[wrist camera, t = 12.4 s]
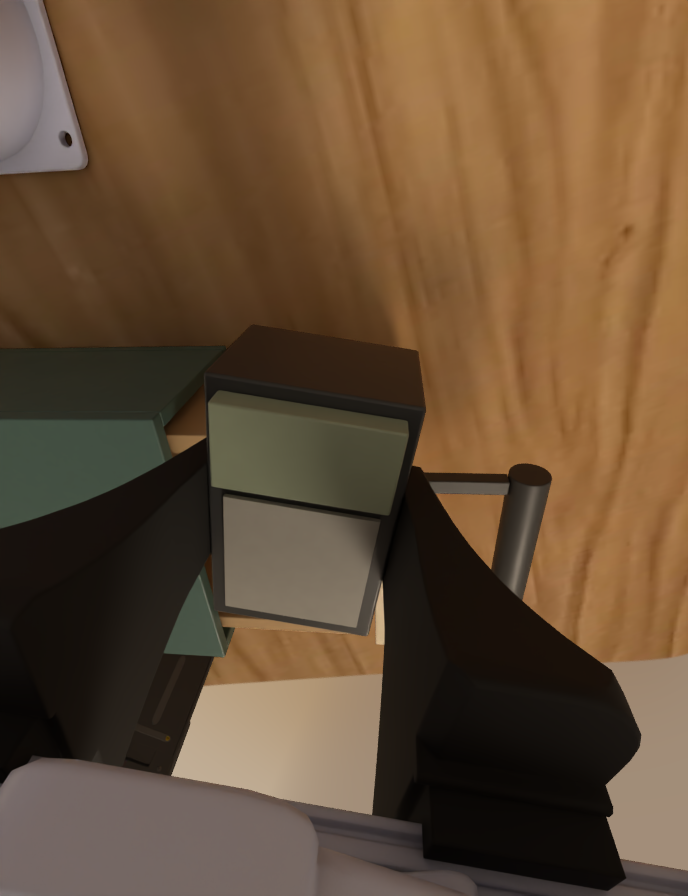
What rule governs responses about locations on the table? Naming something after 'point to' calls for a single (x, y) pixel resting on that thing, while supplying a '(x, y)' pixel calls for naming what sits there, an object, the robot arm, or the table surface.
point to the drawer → (520, 489)
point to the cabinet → (99, 441)
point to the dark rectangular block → (307, 473)
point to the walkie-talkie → (167, 713)
